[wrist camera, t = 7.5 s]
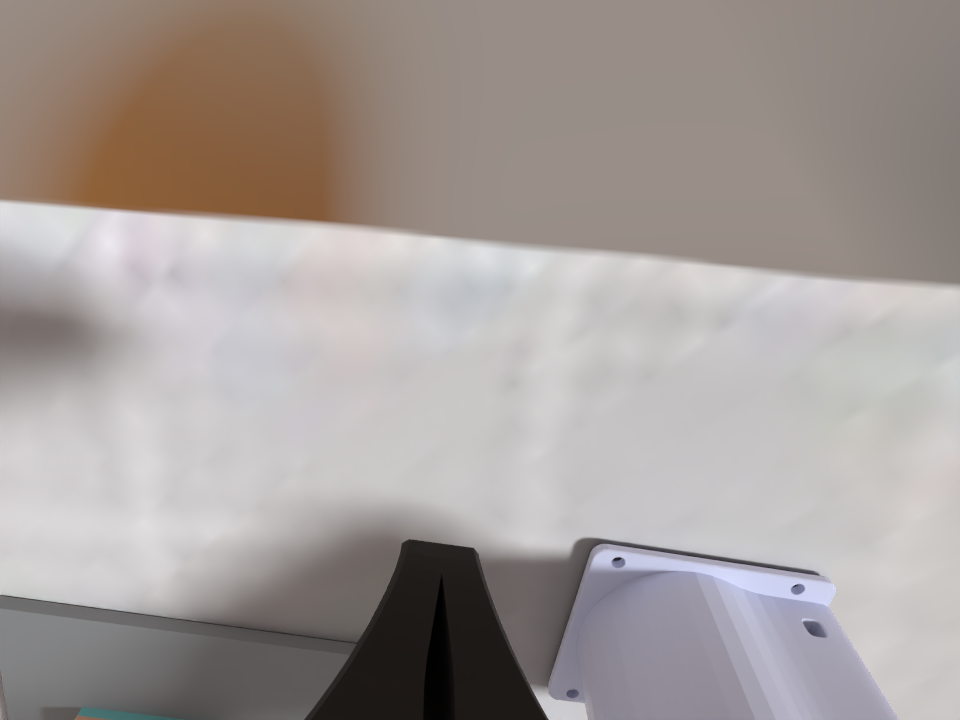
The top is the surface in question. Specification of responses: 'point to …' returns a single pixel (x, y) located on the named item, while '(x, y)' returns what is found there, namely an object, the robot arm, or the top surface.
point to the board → (156, 666)
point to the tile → (114, 715)
